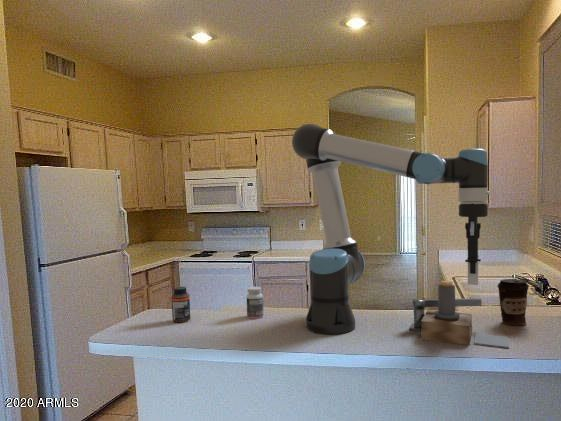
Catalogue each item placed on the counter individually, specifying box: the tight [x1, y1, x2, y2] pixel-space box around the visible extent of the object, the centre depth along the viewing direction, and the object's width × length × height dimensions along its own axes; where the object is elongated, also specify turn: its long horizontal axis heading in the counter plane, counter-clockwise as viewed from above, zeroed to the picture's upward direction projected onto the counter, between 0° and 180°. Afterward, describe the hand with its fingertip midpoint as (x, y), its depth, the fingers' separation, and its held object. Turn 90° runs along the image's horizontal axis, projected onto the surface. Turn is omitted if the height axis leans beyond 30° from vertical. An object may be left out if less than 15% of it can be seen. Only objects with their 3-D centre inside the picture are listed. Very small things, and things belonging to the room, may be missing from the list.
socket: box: [420, 309, 473, 346], centre depth 113 cm, size 12×12×5 cm
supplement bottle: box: [171, 286, 191, 323], centre depth 135 cm, size 6×6×11 cm
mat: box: [473, 333, 510, 349], centre depth 107 cm, size 8×8×1 cm
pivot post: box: [408, 307, 425, 332], centre depth 119 cm, size 5×5×6 cm
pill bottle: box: [246, 286, 265, 320], centre depth 138 cm, size 6×6×10 cm
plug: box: [434, 280, 460, 321], centre depth 113 cm, size 6×6×15 cm
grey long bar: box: [411, 297, 483, 309], centre depth 119 cm, size 20×4×2 cm, turn 87°
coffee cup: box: [497, 278, 530, 326], centre depth 121 cm, size 9×8×13 cm
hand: (473, 284), depth 117 cm, fingers closed
